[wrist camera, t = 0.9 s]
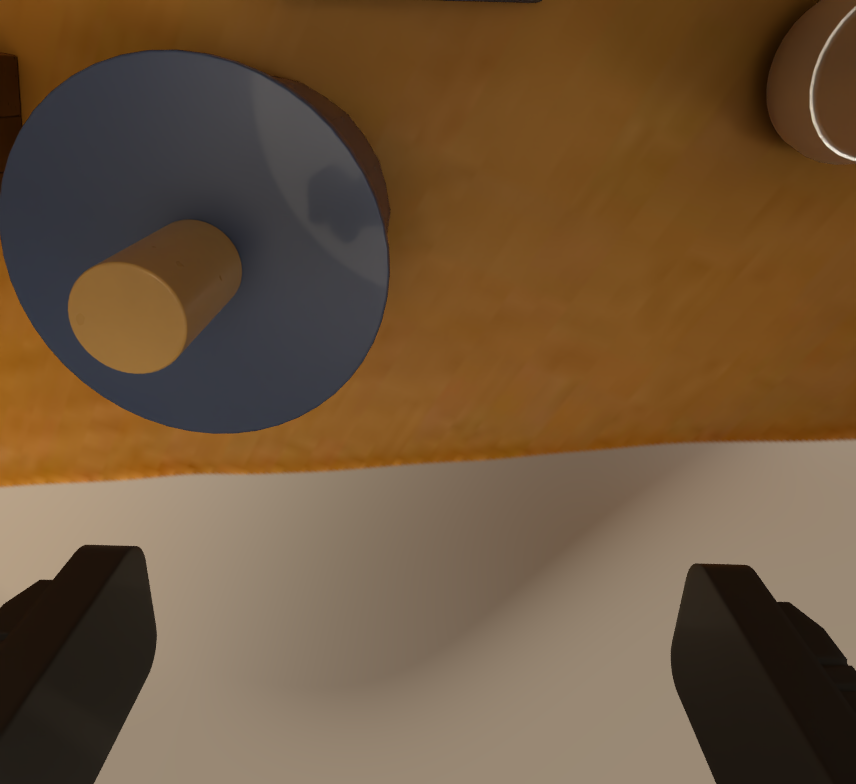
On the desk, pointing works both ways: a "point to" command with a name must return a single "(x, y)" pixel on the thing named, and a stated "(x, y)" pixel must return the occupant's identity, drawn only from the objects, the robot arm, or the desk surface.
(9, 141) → the straw holder
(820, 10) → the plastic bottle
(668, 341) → the desk surface
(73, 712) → the robot arm
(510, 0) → the calculator
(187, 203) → the tin lid
